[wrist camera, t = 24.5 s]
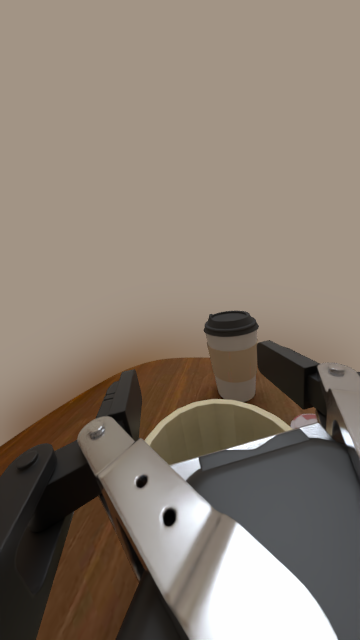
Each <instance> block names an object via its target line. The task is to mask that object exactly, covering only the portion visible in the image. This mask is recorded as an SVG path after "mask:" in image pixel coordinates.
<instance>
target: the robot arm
mask: <svg viewBox="0 0 360 640" xmlns="http://www.w3.org/2000/svg"><path fill="white" fill-rule="evenodd" d="M257 364H258V368H259V371H260V372H261V374H262V375H264V376H265V377H266V378H267V379H268V380H270V381H271V382H272V383H273V384H274V385H275V386H277V387H278V388H279V389H280V390H281V391H282V392H284V393H285V394H286V395H287V396H288V397H289V398H291V399H292V400H293V401H294V402H295V403H296V404H298V405H299V406H300V407H301V408H302V409H303V410H304V409H308V408H311V407H315V408H316V418H317V422H319V423H320V424H321V425H322V426H323V427H324V429H325V430H326V431H327V432H328V433H329V434H330V435H331V436H332V438H333V439H334V440H335V441H336V442H334V441H331V440H327V439H321V438H313V437H308V436H307V435H306V434H305V433H304V432H303V431H302V430H301V429H300V428H299V429H296V430H292V431H289V432H285V433H282V434H278V435H276V436H274V437H273V438H271V439H270V440H268V441H267V442H265V443H264V444H262V445H261V446H259V447H258V448H256V449H242V450H222V451H219V452H215V453H212V454H208V455H205V456H201V457H198V458H199V464H200V468H199V469H198V470H196V471H195V472H194V473H193V474H192V475H190V476H189V478H188V479H187V480H186V481H185V480H184V479H183V478H182V477H181V476H180V475H179V474H178V473H177V472H176V471H175V470H174V469H173V468H172V467H171V466H170V465H169V464H168V463H167V462H166V461H164V460H163V459H162V458H161V457H160V456H159V455H158V454H157V453H156V452H155V451H154V450H153V449H152V448H151V447H150V446H149V445H148V444H147V443H146V442H145V441H144V440H143V439H141V438H139V427H140V417H141V406H142V396H141V390H140V386H139V382H138V378H137V374H136V371H135V369H134V370H129V371H125V372H122V374H121V377H120V380H119V381H117V382H114V383H113V384H112V385H111V386H110V387H109V388H108V390H107V393H106V396H105V397H104V401H103V402H102V405H101V407H100V409H99V412H98V414H97V416H96V419H95V420H93V421H91V422H90V423H88V424H87V425H86V426H85V427H84V428H83V429H82V430H81V431H80V433H79V435H78V438H77V440H76V441H74V442H72V443H70V444H68V445H66V446H64V447H62V448H60V449H58V450H56V451H54V450H53V447H52V445H50V444H40V445H37V446H35V447H33V448H31V449H29V450H27V451H26V452H24V453H23V454H21V455H20V456H19V457H17V458H16V459H15V460H14V461H13V462H12V463H11V464H10V465H9V466H8V468H7V469H6V470H5V472H4V473H3V474H2V476H1V477H0V640H36V637H37V634H38V630H39V627H40V624H41V620H42V617H43V614H44V610H45V607H46V604H47V600H48V597H49V594H50V590H51V587H52V584H53V580H54V577H55V573H56V570H57V567H58V563H59V560H60V557H61V553H62V550H63V547H64V543H65V540H66V537H67V533H68V530H69V527H70V523H71V520H72V516H73V513H74V511H75V510H77V509H78V508H80V507H81V506H83V505H84V504H86V503H88V502H89V501H91V500H92V499H94V498H95V497H97V496H98V497H99V499H100V501H101V503H102V505H103V507H104V509H105V511H106V513H107V515H108V518H109V520H110V522H111V524H112V526H113V528H114V530H115V532H116V534H117V536H118V538H119V540H120V543H121V545H122V547H123V550H124V552H125V554H126V556H127V559H128V561H129V563H130V565H131V568H132V570H133V572H134V574H135V576H136V578H137V580H138V582H139V584H138V587H137V589H136V592H135V594H134V597H133V599H132V601H131V604H130V606H129V609H128V611H127V613H126V616H125V618H124V621H123V623H122V626H121V628H120V630H119V633H118V635H117V638H116V640H360V372H356V371H355V370H354V369H352V368H350V367H348V366H345V365H342V364H337V363H322V364H319V363H317V362H315V361H313V360H311V359H309V358H307V357H305V356H303V355H301V354H299V353H297V352H295V351H293V350H291V349H289V348H286V347H282V346H280V345H278V344H276V343H273V342H272V341H270V340H269V341H264V342H260V343H257ZM138 438H139V439H138Z"/></svg>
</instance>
